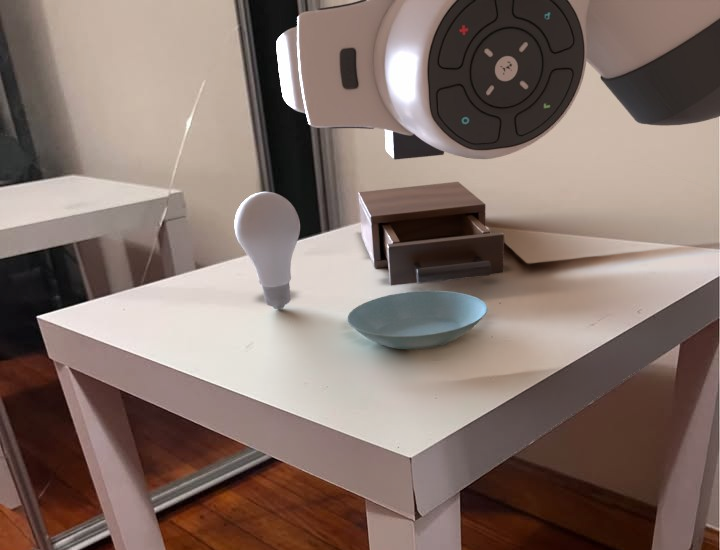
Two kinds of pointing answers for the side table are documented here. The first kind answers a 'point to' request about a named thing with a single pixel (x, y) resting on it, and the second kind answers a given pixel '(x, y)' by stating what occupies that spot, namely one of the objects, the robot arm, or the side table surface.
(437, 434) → the side table surface
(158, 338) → the side table surface
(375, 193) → the cabinet
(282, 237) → the lightbulb
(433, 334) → the saucer
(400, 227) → the drawer
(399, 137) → the two-tone tall pillar
